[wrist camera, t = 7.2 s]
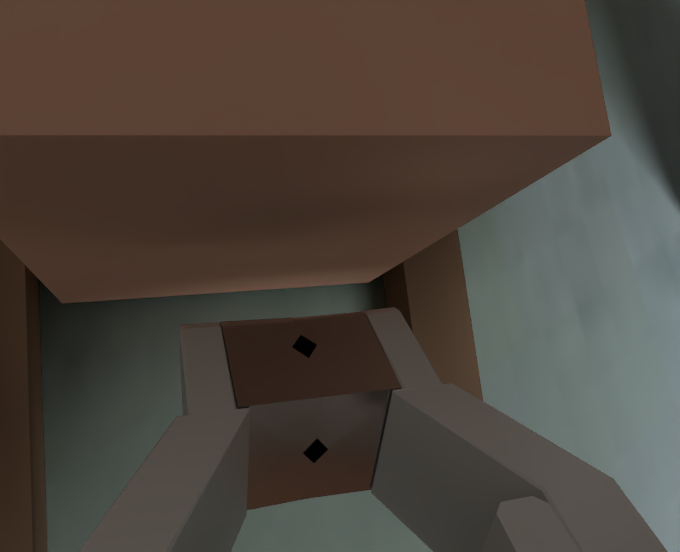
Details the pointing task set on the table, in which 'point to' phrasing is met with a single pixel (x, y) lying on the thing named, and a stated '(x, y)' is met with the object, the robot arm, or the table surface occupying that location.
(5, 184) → the block
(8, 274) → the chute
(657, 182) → the table surface
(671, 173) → the table surface
